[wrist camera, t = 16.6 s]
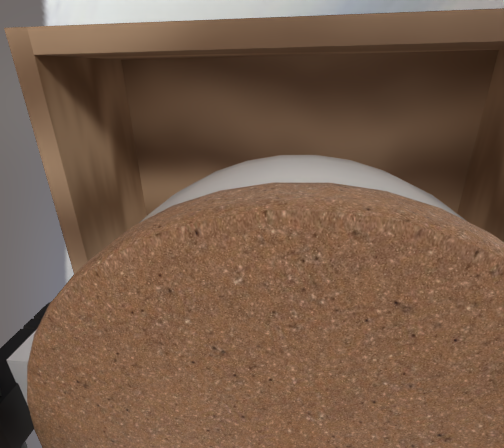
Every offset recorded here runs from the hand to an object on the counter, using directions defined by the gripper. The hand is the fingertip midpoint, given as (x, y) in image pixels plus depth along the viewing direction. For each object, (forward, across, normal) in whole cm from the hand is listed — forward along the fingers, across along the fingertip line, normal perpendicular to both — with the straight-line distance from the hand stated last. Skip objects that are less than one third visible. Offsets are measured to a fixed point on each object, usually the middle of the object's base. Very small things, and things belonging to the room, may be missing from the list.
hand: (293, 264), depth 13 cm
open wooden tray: (+12, 0, 0) cm, 12 cm away
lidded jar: (+1, 0, 0) cm, 1 cm away
